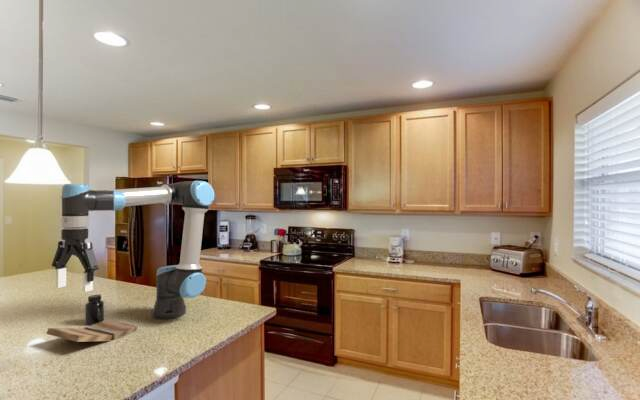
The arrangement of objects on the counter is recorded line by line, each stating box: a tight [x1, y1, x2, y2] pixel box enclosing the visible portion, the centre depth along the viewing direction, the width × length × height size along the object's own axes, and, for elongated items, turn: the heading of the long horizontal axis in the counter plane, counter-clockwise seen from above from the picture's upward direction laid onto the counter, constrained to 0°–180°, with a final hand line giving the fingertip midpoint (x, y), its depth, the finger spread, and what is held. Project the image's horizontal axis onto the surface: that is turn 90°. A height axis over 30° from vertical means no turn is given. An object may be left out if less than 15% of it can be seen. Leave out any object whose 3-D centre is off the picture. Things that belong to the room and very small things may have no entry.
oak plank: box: [46, 327, 112, 343], centre depth 124 cm, size 13×18×2 cm
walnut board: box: [83, 319, 138, 341], centre depth 135 cm, size 10×18×2 cm, turn 68°
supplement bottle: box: [84, 294, 105, 326], centre depth 145 cm, size 7×7×12 cm
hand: (74, 288), depth 113 cm, fingers open, 13 cm apart
